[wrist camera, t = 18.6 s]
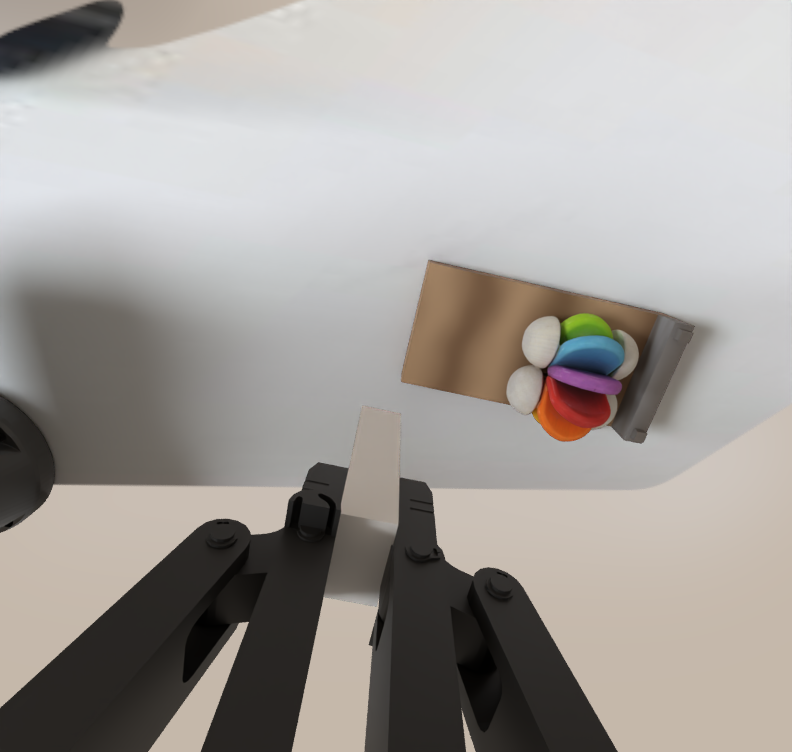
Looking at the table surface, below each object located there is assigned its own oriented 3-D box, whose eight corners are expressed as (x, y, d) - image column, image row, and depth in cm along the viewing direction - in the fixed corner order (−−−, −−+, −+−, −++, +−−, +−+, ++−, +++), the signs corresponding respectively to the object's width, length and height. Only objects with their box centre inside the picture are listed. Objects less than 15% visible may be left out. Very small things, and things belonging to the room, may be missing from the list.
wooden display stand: (401, 373, 41) (400, 396, 36) (428, 259, 37) (431, 267, 32) (617, 419, 42) (645, 447, 37) (662, 313, 38) (700, 328, 34)
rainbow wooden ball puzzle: (494, 406, 39) (513, 448, 33) (531, 296, 36) (560, 317, 29) (589, 427, 40) (627, 473, 33) (633, 320, 37) (686, 346, 30)
